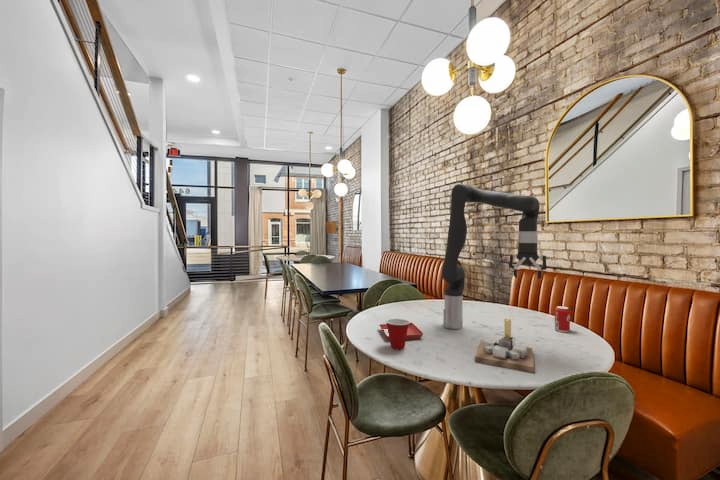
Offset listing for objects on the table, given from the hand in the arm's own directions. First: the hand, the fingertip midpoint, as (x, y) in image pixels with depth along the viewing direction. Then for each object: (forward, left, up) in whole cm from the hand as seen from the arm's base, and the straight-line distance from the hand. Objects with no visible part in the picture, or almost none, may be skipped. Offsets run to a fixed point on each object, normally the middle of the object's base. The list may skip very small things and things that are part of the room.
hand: (527, 278), depth 132 cm
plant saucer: (-55, -12, -31) cm, 64 cm away
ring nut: (-8, -18, -28) cm, 34 cm away
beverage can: (+16, +30, -30) cm, 45 cm away
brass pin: (-7, -13, -28) cm, 32 cm away
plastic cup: (-50, -28, -30) cm, 65 cm away
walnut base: (-8, -18, -30) cm, 36 cm away
